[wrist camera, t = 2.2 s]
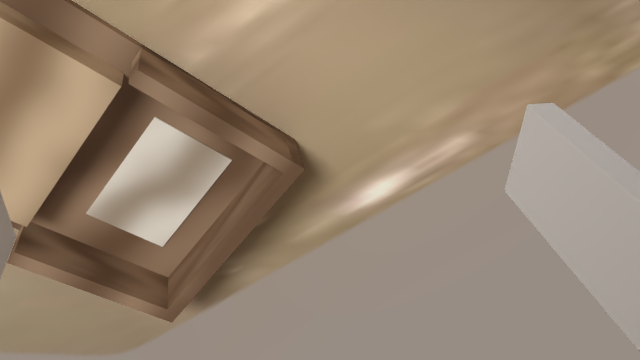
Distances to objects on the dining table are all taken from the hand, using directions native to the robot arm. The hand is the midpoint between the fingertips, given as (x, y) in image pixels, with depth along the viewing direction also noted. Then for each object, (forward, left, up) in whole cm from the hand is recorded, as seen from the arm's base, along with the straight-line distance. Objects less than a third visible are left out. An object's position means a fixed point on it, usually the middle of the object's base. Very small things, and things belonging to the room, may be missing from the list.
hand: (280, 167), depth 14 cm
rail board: (-1, -15, -22) cm, 27 cm away
